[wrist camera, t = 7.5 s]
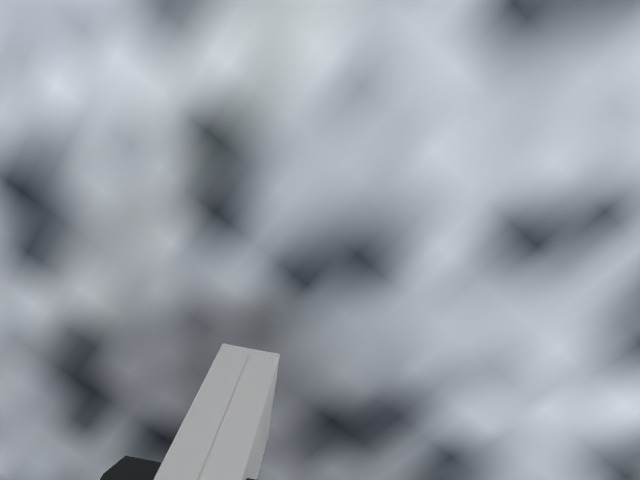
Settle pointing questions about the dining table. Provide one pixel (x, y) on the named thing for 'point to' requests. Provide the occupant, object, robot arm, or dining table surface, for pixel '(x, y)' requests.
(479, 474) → the dining table surface
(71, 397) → the dining table surface
